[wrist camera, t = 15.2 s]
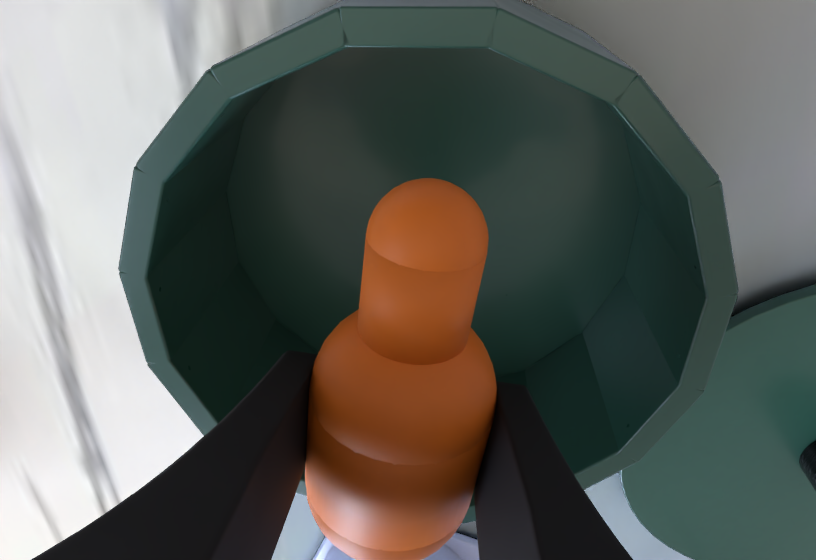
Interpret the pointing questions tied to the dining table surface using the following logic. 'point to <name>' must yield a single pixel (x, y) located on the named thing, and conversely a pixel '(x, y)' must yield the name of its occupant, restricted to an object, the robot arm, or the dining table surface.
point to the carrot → (404, 383)
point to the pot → (460, 165)
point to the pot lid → (742, 446)
